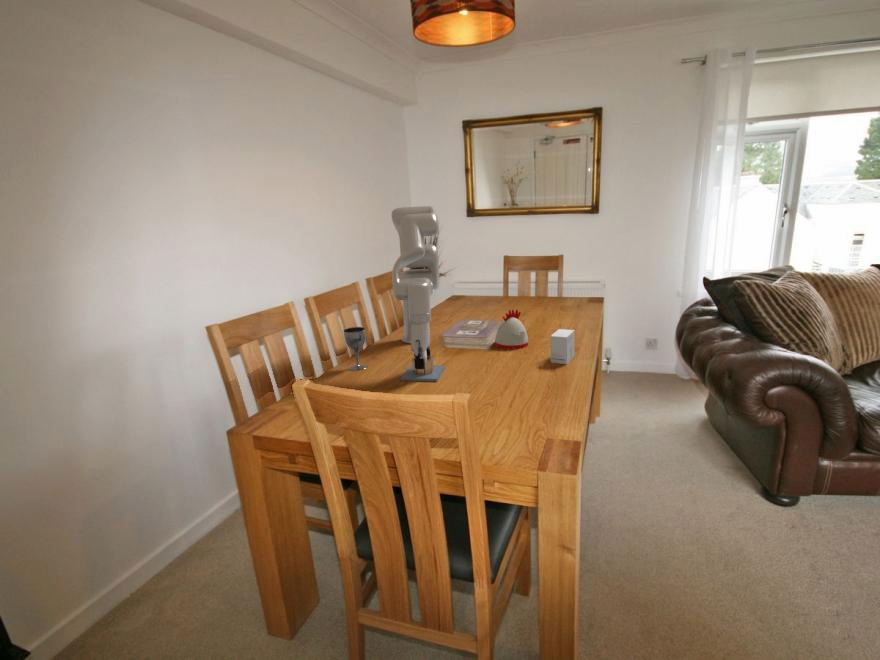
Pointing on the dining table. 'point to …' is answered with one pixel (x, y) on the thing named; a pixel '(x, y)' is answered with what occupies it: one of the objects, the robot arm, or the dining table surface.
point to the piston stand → (430, 377)
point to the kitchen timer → (511, 332)
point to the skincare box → (562, 346)
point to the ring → (427, 367)
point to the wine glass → (355, 344)
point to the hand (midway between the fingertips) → (423, 364)
